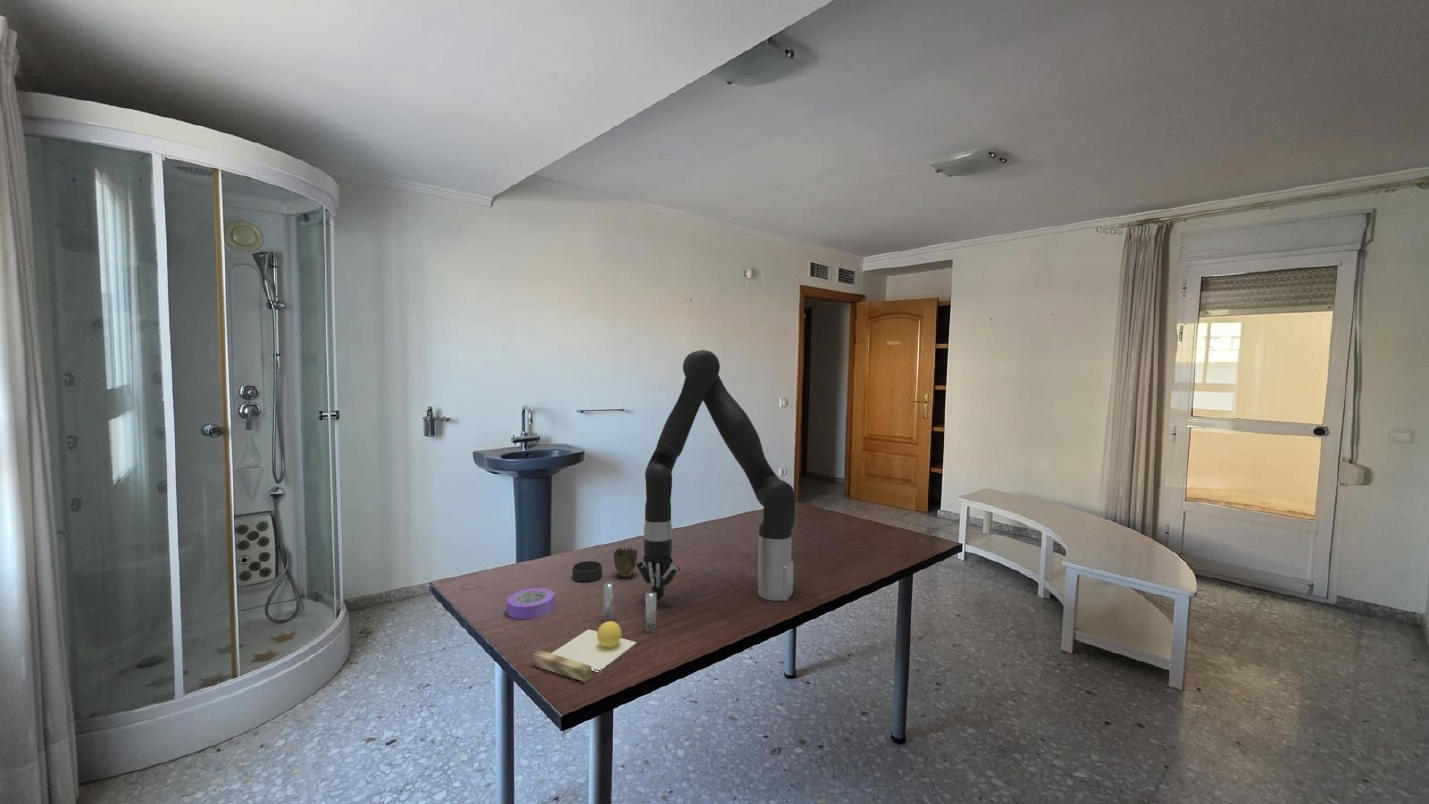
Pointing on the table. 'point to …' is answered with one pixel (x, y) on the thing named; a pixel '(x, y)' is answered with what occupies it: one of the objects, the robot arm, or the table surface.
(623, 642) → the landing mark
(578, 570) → the smart speaker
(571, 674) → the strip
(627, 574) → the cup
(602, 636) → the ball
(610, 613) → the post left
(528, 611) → the masking tape
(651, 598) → the post right
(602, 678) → the table surface
